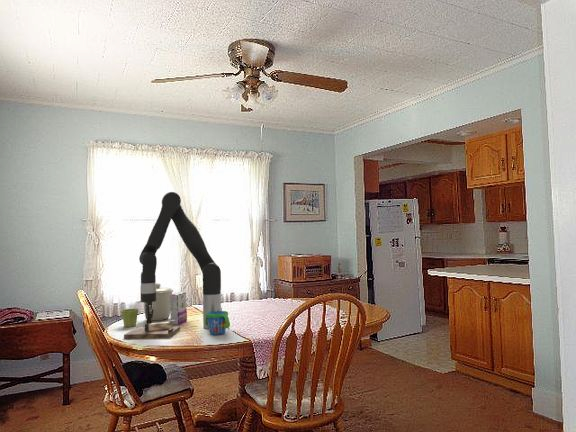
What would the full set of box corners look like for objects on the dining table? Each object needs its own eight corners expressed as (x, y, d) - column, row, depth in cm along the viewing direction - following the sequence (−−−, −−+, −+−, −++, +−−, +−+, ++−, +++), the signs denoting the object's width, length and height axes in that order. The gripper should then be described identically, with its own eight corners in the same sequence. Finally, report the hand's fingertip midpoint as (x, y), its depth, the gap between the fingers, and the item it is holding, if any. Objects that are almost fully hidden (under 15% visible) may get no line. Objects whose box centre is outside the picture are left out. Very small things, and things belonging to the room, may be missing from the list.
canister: (148, 316, 261) (147, 282, 262) (177, 316, 260) (177, 281, 261) (136, 322, 243) (136, 285, 244) (168, 322, 242) (167, 284, 243)
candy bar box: (179, 320, 245) (178, 291, 245) (187, 321, 244) (186, 291, 244) (169, 324, 234) (169, 294, 234) (178, 324, 233) (177, 294, 233)
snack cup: (199, 333, 209) (198, 312, 210) (217, 329, 217) (217, 309, 217) (217, 338, 198) (217, 315, 199) (236, 334, 205) (235, 312, 206)
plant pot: (120, 325, 236) (120, 309, 237) (138, 323, 240) (138, 308, 240) (120, 328, 228) (120, 311, 228) (139, 326, 231) (139, 310, 231)
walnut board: (180, 330, 217) (179, 323, 217) (170, 337, 201) (169, 330, 202) (137, 331, 218) (137, 324, 218) (123, 338, 202) (123, 331, 202)
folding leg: (174, 327, 216) (174, 319, 217) (175, 328, 214) (175, 320, 214) (144, 330, 211) (144, 322, 211) (145, 331, 208) (145, 324, 208)
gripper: (158, 292, 210) (159, 328, 209) (154, 289, 222) (154, 323, 221) (142, 294, 207) (143, 330, 206) (138, 291, 218) (139, 325, 218)
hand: (149, 326), depth 213 cm, fingers closed
